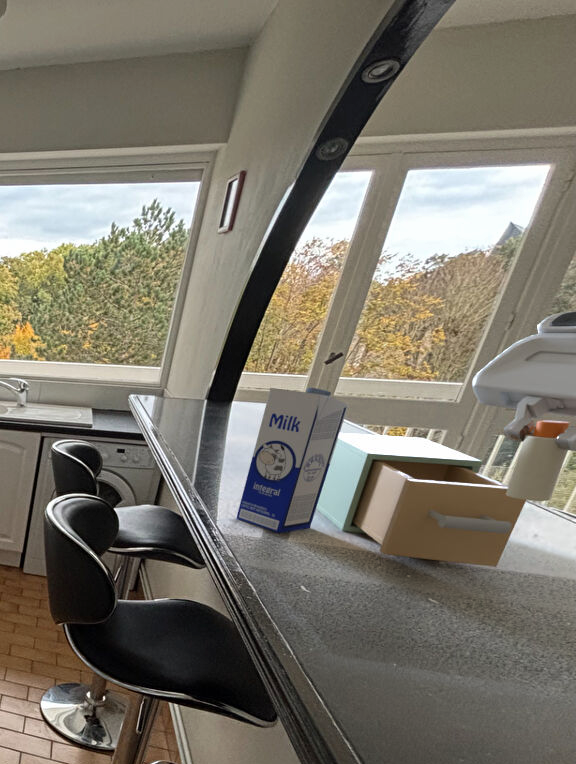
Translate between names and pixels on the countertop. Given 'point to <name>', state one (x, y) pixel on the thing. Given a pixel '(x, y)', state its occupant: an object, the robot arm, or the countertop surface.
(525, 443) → the glue
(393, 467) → the drawer
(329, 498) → the cabinet
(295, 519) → the milk carton
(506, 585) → the countertop surface
